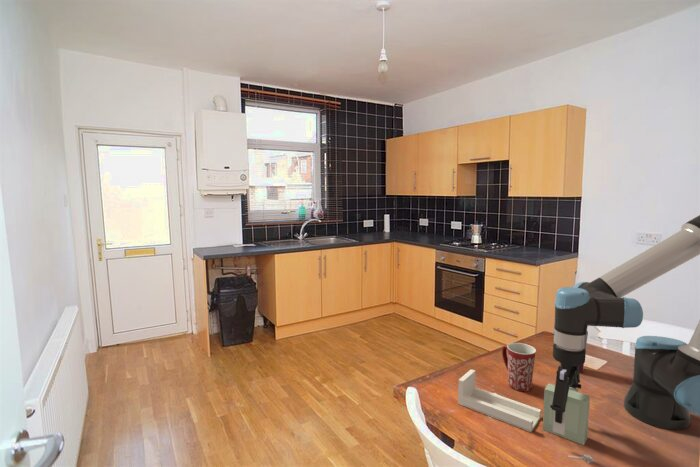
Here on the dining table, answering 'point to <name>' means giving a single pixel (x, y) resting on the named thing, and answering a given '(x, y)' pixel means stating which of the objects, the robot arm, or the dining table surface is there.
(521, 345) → the mug
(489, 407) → the track
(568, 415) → the door panel
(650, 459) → the dining table surface
